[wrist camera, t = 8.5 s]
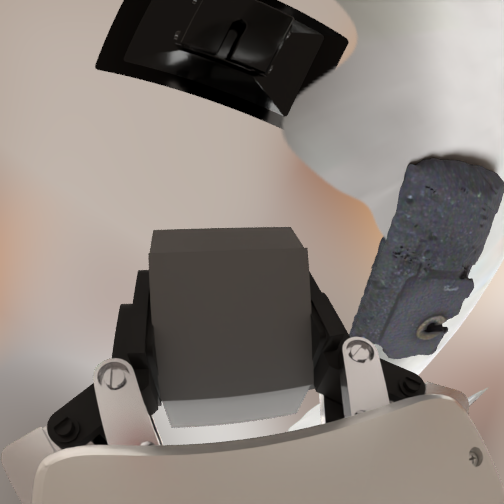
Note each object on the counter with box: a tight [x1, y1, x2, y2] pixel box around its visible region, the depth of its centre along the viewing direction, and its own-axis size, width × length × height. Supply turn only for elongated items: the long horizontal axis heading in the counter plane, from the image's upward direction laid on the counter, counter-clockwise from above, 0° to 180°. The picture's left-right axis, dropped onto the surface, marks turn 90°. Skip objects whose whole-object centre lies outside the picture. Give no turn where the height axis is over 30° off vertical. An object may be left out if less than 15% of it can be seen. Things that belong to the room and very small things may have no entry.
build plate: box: [95, 0, 349, 129], centre depth 10 cm, size 12×7×5 cm, turn 66°
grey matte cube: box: [149, 227, 314, 428], centre depth 10 cm, size 5×6×5 cm
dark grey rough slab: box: [349, 158, 504, 359], centre depth 23 cm, size 15×22×5 cm
